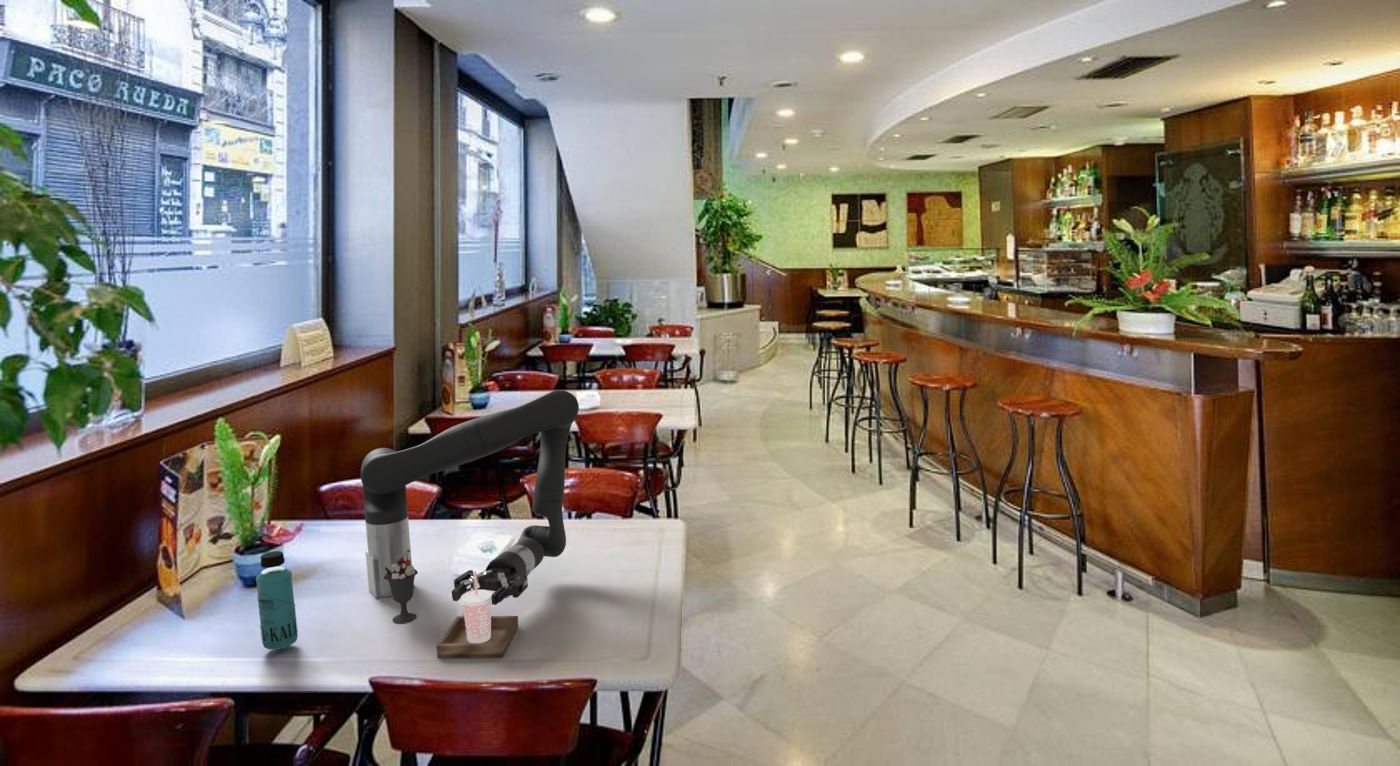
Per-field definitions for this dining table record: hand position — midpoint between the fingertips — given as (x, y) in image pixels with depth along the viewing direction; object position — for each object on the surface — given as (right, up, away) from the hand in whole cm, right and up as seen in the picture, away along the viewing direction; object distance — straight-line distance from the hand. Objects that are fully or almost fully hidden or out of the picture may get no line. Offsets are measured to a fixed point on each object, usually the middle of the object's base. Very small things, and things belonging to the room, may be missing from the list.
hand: (473, 598), depth 157 cm
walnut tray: (0, -10, +3) cm, 10 cm away
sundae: (-19, -8, +14) cm, 25 cm away
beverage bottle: (-39, -11, +1) cm, 40 cm away
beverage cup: (0, -9, +3) cm, 9 cm away
